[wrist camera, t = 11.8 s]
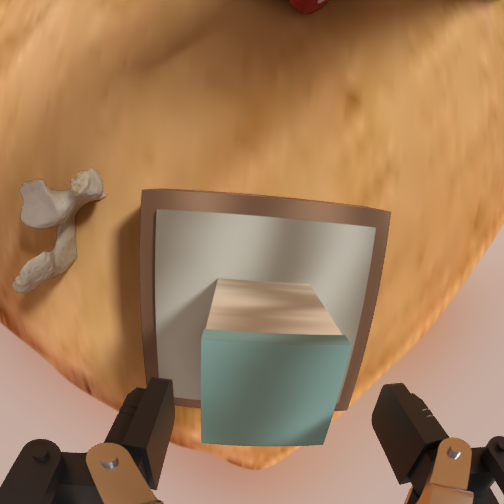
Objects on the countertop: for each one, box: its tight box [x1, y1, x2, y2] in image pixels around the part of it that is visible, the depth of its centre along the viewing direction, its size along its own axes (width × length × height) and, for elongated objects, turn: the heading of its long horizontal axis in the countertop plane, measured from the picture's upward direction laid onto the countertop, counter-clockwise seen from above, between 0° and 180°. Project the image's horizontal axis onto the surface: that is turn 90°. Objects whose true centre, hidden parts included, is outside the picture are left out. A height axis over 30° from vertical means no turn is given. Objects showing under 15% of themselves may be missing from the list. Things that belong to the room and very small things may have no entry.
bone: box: [12, 168, 107, 294], centre depth 16 cm, size 9×6×10 cm
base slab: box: [140, 189, 391, 411], centre depth 19 cm, size 14×14×4 cm
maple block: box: [201, 278, 351, 446], centre depth 14 cm, size 5×5×7 cm
